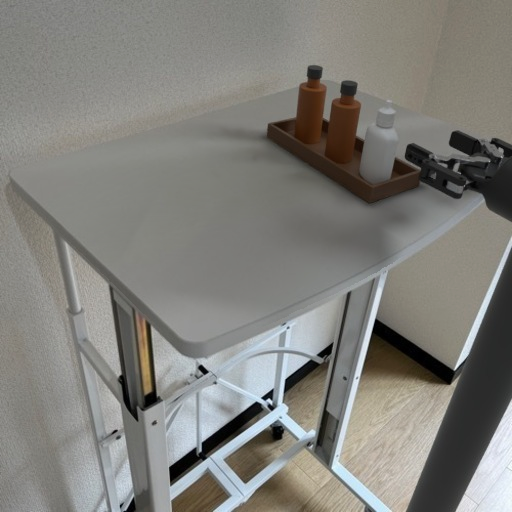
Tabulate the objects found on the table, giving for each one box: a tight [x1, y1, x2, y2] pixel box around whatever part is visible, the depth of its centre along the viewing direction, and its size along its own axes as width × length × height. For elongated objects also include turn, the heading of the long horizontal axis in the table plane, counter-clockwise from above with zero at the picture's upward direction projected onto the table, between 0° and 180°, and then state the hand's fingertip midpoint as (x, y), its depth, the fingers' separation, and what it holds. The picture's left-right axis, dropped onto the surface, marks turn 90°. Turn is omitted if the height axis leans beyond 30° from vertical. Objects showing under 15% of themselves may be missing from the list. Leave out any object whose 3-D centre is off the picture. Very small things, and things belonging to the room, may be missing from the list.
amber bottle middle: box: [325, 79, 362, 163], centre depth 84 cm, size 4×4×12 cm
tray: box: [266, 116, 421, 204], centre depth 88 cm, size 10×25×2 cm, turn 34°
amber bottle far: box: [294, 64, 328, 144], centre depth 90 cm, size 4×4×12 cm
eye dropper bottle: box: [359, 99, 399, 185], centre depth 79 cm, size 4×6×12 cm
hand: (430, 143), depth 72 cm, fingers open, 8 cm apart
